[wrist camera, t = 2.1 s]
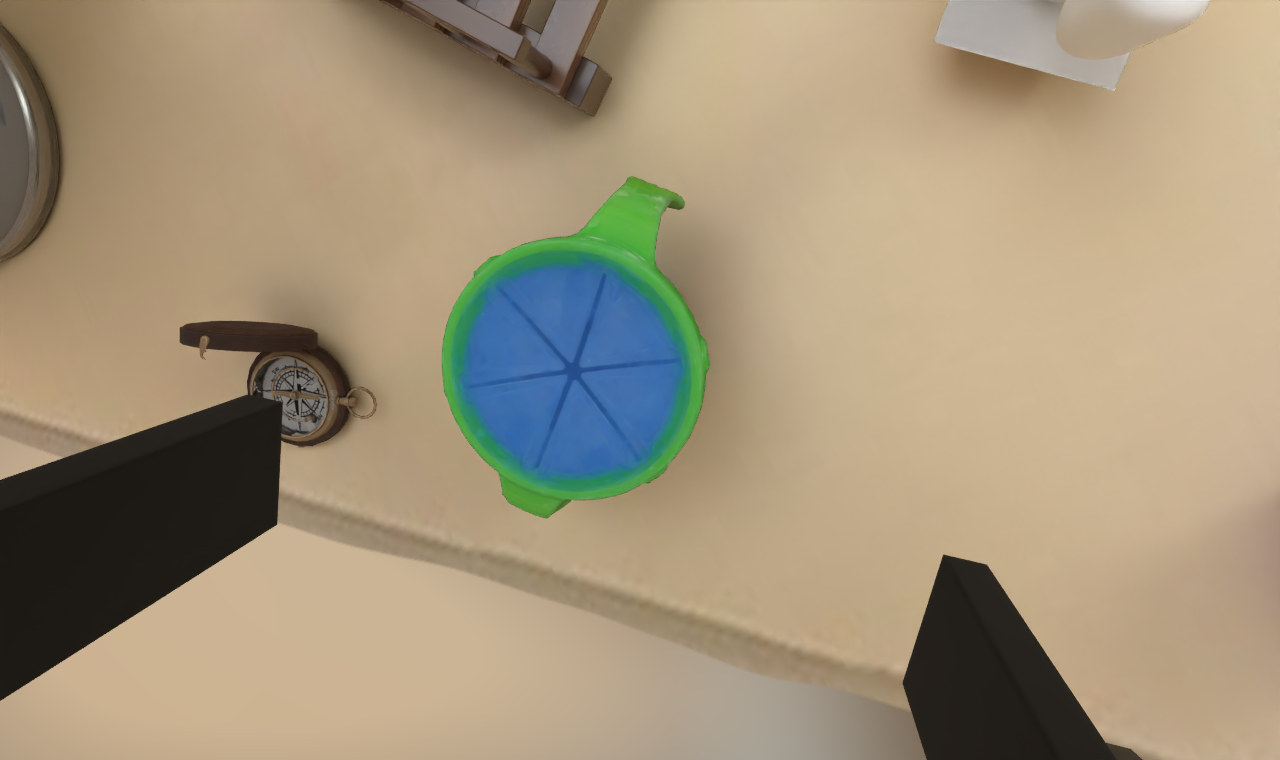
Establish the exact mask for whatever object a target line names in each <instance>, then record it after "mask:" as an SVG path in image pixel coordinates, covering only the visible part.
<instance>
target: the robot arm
mask: <svg viewBox="0 0 1280 760" xmlns="http://www.w3.org/2000/svg"><path fill="white" fill-rule="evenodd" d="M58 174H59V147H58V138H57V131H56V126H55V122H54V117H53V113H52V110H51V107H50V104H49V100H48V98H47V95H46V93H45V90H44V88H43V85H42V83H41V81H40V79H39V77H38V75H37V73H36V71H35V70H34V68H33V66H32V64H31V63H30V61H29V59H28V58H27V56H26V55H25V53H24V52H23V50H22V49H21V48H20V46H19V45H18V44H17V43H16V41H15V40H14V39H13V38H12V37H11V35H10V34H9V33H8V32H7V31H6V30H5V29H4V28H3V27H2V26H1V25H0V262H1V261H3V260H6V259H8V258H10V257H12V256H13V255H15V254H17V253H18V252H20V251H21V250H22V249H23V248H25V247H26V246H27V245H28V244H29V243H30V242H31V241H32V240H33V239H34V238H35V236H36V235H37V234H38V232H39V231H40V230H41V228H42V226H43V225H44V223H45V221H46V219H47V217H48V215H49V212H50V210H51V208H52V204H53V201H54V198H55V194H56V189H57V184H58ZM282 411H283V402H280V401H276V400H271V399H267V398H263V397H258V396H254V395H250V394H248V395H245V396H242V397H239V398H237V399H234V400H231V401H228V402H225V403H222V404H219V405H216V406H213V407H210V408H208V409H205V410H202V411H199V412H196V413H193V414H190V415H187V416H184V417H181V418H179V419H176V420H173V421H170V422H167V423H164V424H161V425H158V426H155V427H152V428H150V429H147V430H144V431H141V432H138V433H135V434H132V435H129V436H126V437H123V438H121V439H118V440H115V441H112V442H109V443H106V444H103V445H100V446H97V447H94V448H92V449H89V450H86V451H83V452H80V453H77V454H74V455H71V456H68V457H65V458H63V459H60V460H57V461H54V462H51V463H48V464H46V465H42V466H40V467H37V468H34V469H31V470H28V471H25V472H22V473H19V474H16V475H14V476H10V477H8V478H5V479H2V480H0V701H1V700H2V699H4V698H5V697H7V696H9V695H10V694H11V693H13V692H15V691H16V690H18V689H20V688H21V687H23V686H24V685H26V684H27V683H29V682H31V681H32V680H34V679H35V678H37V677H38V676H40V675H41V674H43V673H45V672H46V671H48V670H49V669H51V668H53V667H54V666H56V665H57V664H59V663H60V662H62V661H63V660H65V659H67V658H68V657H70V656H71V655H73V654H74V653H76V652H78V651H79V650H81V649H82V648H84V647H86V646H87V645H89V644H90V643H92V642H93V641H95V640H96V639H98V638H99V637H101V636H103V635H104V634H106V633H107V632H109V631H111V630H112V629H114V628H115V627H117V626H118V625H120V624H122V623H123V622H125V621H126V620H128V619H129V618H131V617H133V616H134V615H136V614H137V613H139V612H140V611H142V610H143V609H145V608H147V607H148V606H150V605H151V604H153V603H155V602H156V601H158V600H159V599H161V598H162V597H164V596H166V595H167V594H169V593H170V592H172V591H173V590H175V589H177V588H178V587H180V586H181V585H183V584H184V583H186V582H188V581H189V580H191V579H192V578H194V577H195V576H197V575H199V574H200V573H202V572H203V571H205V570H206V569H208V568H209V567H211V566H212V565H214V564H216V563H217V562H219V561H220V560H222V559H224V558H225V557H227V556H228V555H230V554H231V553H233V552H235V551H236V550H238V549H239V548H241V547H243V546H244V545H246V544H247V543H249V542H250V541H252V540H254V539H255V538H257V537H258V536H260V535H261V534H263V533H264V532H266V531H267V530H269V529H271V528H272V527H274V526H275V525H277V517H278V496H279V475H280V453H281V432H282ZM903 686H904V689H905V692H906V695H907V698H908V702H909V705H910V708H911V711H912V714H913V717H914V720H915V724H916V727H917V730H918V733H919V737H920V740H921V743H922V746H923V749H924V752H925V756H926V758H927V760H1142V759H1141V758H1140V757H1139V756H1138V755H1137V754H1136V753H1134V752H1133V751H1132V750H1131V749H1128V748H1124V747H1120V746H1116V745H1112V744H1109V743H1105V741H1104V740H1103V738H1102V737H1101V735H1100V734H1099V732H1098V731H1097V729H1096V728H1095V726H1094V725H1093V723H1092V722H1091V720H1090V719H1089V717H1088V716H1087V714H1086V713H1085V711H1084V710H1083V708H1082V707H1081V705H1080V704H1079V702H1078V701H1077V699H1076V698H1075V696H1074V695H1073V693H1072V692H1071V690H1070V689H1069V687H1068V686H1067V684H1066V683H1065V681H1064V680H1063V678H1062V677H1061V675H1060V674H1059V672H1058V671H1057V669H1056V668H1055V666H1054V665H1053V663H1052V662H1051V660H1050V659H1049V657H1048V656H1047V654H1046V653H1045V651H1044V650H1043V648H1042V647H1041V645H1040V644H1039V642H1038V641H1037V639H1036V638H1035V636H1034V635H1033V633H1032V632H1031V630H1030V629H1029V627H1028V626H1027V624H1026V623H1025V621H1024V620H1023V618H1022V617H1021V615H1020V614H1019V612H1018V611H1017V609H1016V608H1015V606H1014V605H1013V603H1012V602H1011V600H1010V599H1009V597H1008V596H1007V594H1006V593H1005V591H1004V590H1003V588H1002V587H1001V585H1000V584H999V582H998V581H997V579H996V578H995V576H994V575H993V573H992V572H991V570H990V569H989V567H988V566H987V565H986V564H982V563H977V562H973V561H969V560H964V559H960V558H956V557H951V556H947V555H943V557H942V560H941V564H940V567H939V570H938V573H937V576H936V579H935V583H934V586H933V589H932V592H931V595H930V598H929V601H928V605H927V608H926V611H925V614H924V617H923V620H922V623H921V627H920V630H919V633H918V636H917V639H916V642H915V645H914V649H913V652H912V655H911V658H910V661H909V664H908V667H907V671H906V674H905V677H904V680H903Z"/></svg>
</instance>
